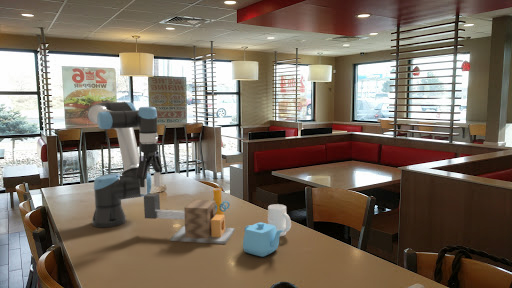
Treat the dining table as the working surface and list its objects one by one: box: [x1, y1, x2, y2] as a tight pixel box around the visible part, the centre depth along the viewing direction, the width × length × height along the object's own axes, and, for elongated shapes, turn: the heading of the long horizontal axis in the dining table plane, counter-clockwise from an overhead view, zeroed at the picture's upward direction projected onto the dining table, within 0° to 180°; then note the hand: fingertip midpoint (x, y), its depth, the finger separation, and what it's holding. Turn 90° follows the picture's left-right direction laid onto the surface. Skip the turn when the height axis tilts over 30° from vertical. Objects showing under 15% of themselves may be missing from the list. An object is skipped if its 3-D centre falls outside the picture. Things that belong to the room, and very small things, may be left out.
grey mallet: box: [143, 192, 185, 220], centre depth 165 cm, size 26×5×10 cm, turn 80°
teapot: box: [242, 221, 284, 258], centre depth 145 cm, size 12×18×12 cm
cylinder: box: [210, 187, 230, 215], centre depth 186 cm, size 12×10×15 cm
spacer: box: [211, 214, 226, 237], centre depth 163 cm, size 4×7×7 cm, turn 170°
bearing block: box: [169, 199, 235, 245], centre depth 164 cm, size 24×16×14 cm, turn 80°
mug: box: [267, 203, 292, 237], centre depth 164 cm, size 8×12×12 cm
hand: (150, 190), depth 167 cm, fingers open, 13 cm apart
